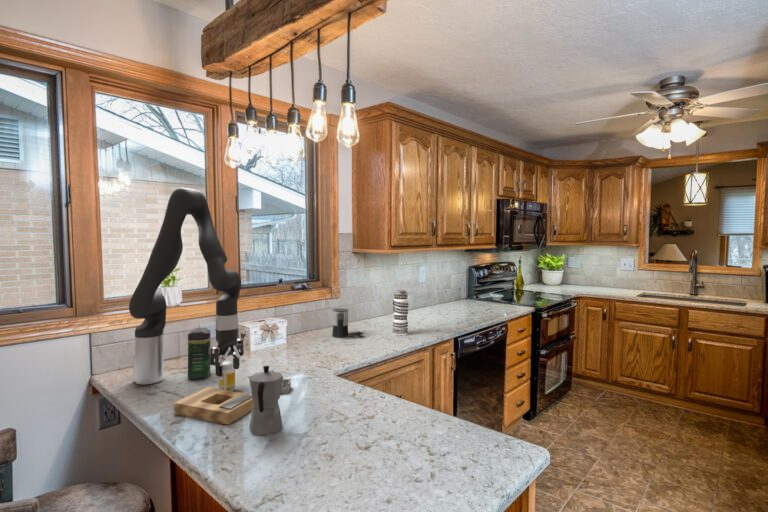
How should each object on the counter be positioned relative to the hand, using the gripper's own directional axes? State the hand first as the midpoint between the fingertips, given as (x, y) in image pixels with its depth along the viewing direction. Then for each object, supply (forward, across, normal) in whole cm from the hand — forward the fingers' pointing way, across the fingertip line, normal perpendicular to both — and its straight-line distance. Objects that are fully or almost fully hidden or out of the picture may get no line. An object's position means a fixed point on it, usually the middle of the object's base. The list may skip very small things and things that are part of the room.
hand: (227, 372), depth 145 cm
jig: (+6, +15, +8) cm, 18 cm away
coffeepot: (+7, +21, +30) cm, 38 cm away
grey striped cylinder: (+7, -105, +31) cm, 110 cm away
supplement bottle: (+6, 0, 0) cm, 7 cm away
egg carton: (+7, -6, +16) cm, 18 cm away
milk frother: (+7, -89, +6) cm, 90 cm away
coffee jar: (+6, -8, -20) cm, 23 cm away
